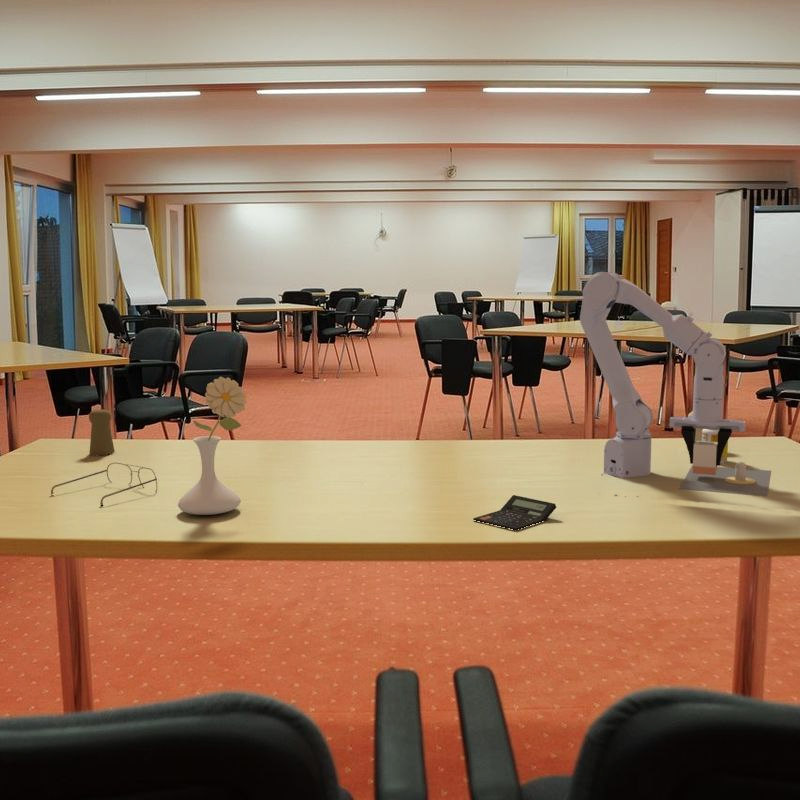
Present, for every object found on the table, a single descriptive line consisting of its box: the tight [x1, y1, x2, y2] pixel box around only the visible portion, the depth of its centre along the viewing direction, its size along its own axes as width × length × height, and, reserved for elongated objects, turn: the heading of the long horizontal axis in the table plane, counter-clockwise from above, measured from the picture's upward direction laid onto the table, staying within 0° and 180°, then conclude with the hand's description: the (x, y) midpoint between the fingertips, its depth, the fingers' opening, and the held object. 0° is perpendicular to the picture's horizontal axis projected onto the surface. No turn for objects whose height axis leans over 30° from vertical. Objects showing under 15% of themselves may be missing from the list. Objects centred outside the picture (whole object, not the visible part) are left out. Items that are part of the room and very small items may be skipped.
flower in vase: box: [177, 376, 247, 516], centre depth 160 cm, size 13×11×25 cm
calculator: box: [472, 494, 557, 530], centre depth 154 cm, size 9×12×3 cm
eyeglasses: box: [50, 462, 158, 506], centre depth 177 cm, size 16×15×5 cm
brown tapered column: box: [88, 408, 116, 456], centre depth 218 cm, size 6×6×11 cm
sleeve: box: [692, 441, 718, 475], centre depth 180 cm, size 4×4×6 cm
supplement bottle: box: [702, 426, 729, 465], centre depth 197 cm, size 6×6×10 cm
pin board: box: [678, 461, 772, 497], centre depth 179 cm, size 24×16×5 cm, turn 156°
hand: (705, 463), depth 180 cm, fingers closed on sleeve, 4 cm apart
